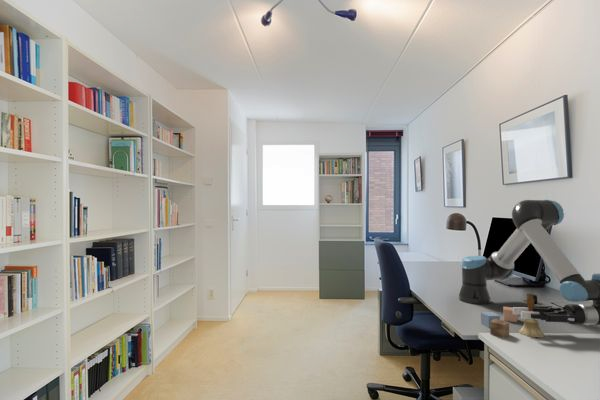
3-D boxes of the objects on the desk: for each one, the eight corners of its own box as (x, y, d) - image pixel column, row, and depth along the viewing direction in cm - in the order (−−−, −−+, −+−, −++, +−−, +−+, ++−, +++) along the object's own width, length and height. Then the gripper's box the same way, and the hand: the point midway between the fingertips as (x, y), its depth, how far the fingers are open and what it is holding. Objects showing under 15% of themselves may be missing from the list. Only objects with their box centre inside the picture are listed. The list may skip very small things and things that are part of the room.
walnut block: (490, 334, 130) (490, 321, 130) (495, 331, 133) (495, 318, 134) (504, 338, 126) (504, 324, 127) (509, 334, 130) (509, 322, 130)
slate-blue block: (481, 324, 142) (480, 312, 142) (491, 323, 142) (491, 311, 143) (488, 328, 137) (488, 316, 137) (500, 327, 138) (499, 315, 138)
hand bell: (537, 339, 125) (536, 296, 125) (514, 332, 132) (513, 292, 133) (549, 335, 129) (548, 294, 129) (526, 328, 136) (525, 289, 137)
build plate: (546, 306, 169) (546, 297, 169) (531, 306, 170) (531, 297, 170) (531, 299, 182) (531, 291, 182) (517, 299, 182) (517, 291, 182)
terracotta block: (503, 320, 146) (503, 309, 146) (503, 317, 151) (503, 306, 151) (517, 322, 144) (517, 311, 144) (516, 319, 148) (516, 308, 148)
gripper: (598, 332, 120) (531, 330, 122) (563, 316, 138) (505, 315, 140) (597, 311, 121) (530, 310, 122) (562, 298, 138) (504, 297, 140)
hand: (517, 312), depth 131 cm, fingers open, 5 cm apart
